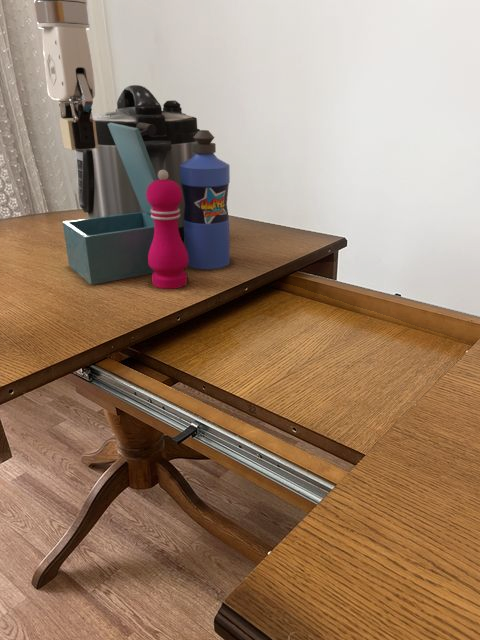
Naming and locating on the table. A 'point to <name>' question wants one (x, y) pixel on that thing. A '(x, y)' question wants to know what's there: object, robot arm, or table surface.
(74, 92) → the robot arm
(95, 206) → the pressure cooker
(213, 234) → the water bottle
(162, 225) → the pepper mill
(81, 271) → the bin
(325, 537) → the table surface
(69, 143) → the block
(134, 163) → the bin lid
